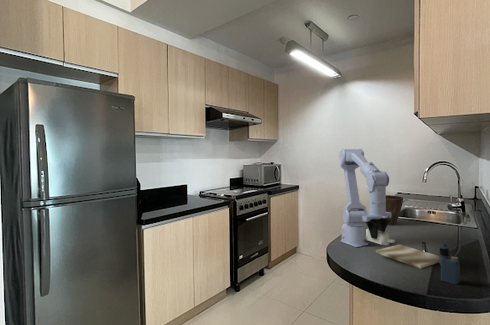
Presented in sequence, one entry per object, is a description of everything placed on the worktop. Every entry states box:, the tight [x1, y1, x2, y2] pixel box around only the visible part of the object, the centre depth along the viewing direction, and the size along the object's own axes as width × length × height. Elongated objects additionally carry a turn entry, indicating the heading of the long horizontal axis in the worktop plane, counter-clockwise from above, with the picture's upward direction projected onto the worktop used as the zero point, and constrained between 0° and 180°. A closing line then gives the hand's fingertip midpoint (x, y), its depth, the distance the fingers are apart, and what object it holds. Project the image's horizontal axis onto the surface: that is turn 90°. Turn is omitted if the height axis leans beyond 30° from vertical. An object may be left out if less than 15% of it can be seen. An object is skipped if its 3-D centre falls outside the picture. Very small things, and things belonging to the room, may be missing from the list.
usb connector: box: [365, 228, 396, 246], centre depth 104 cm, size 11×3×4 cm, turn 27°
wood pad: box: [375, 244, 440, 269], centre depth 108 cm, size 18×16×1 cm
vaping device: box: [439, 242, 461, 285], centre depth 87 cm, size 3×5×12 cm, turn 51°
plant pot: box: [386, 194, 404, 226], centre depth 160 cm, size 15×15×16 cm
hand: (377, 237), depth 105 cm, fingers closed on usb connector, 3 cm apart
